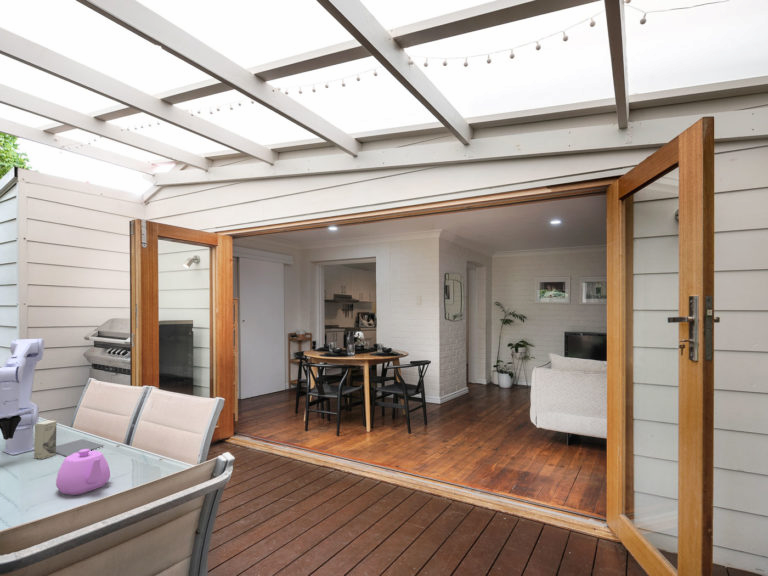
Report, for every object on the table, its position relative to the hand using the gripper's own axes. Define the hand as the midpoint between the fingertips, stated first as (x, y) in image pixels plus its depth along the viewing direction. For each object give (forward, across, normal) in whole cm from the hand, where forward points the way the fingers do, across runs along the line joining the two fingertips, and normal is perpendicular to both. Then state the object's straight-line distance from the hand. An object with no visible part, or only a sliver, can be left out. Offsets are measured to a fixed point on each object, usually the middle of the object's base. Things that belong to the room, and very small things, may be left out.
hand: (8, 438), depth 151 cm
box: (+10, +10, -2) cm, 14 cm away
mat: (+9, +20, -2) cm, 23 cm away
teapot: (+10, +3, -46) cm, 47 cm away
